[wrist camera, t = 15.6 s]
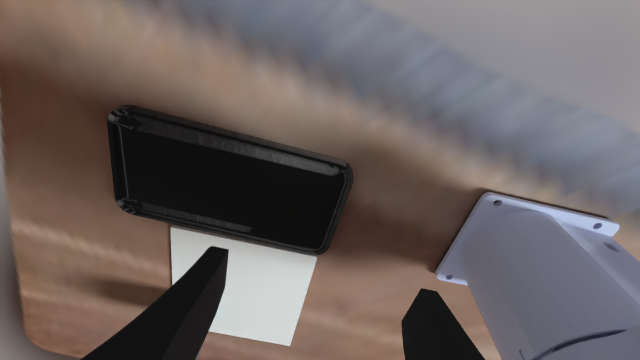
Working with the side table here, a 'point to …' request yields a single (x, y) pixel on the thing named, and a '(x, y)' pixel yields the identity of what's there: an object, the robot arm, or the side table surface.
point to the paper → (250, 284)
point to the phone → (225, 181)
